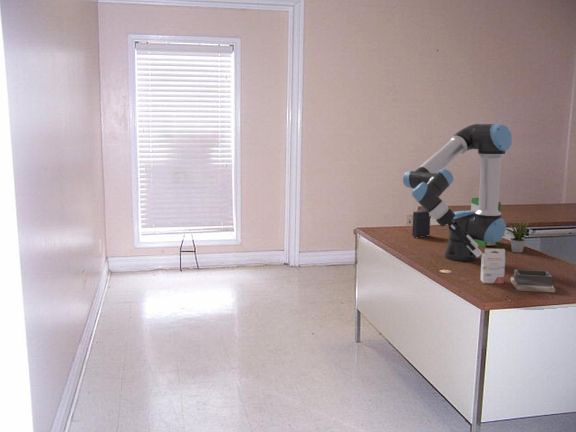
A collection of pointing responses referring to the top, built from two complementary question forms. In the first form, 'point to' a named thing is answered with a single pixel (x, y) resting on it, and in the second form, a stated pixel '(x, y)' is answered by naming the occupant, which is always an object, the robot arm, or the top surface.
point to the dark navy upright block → (421, 223)
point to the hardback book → (474, 208)
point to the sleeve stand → (532, 280)
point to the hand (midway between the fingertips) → (478, 251)
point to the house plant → (518, 237)
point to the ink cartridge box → (493, 266)
